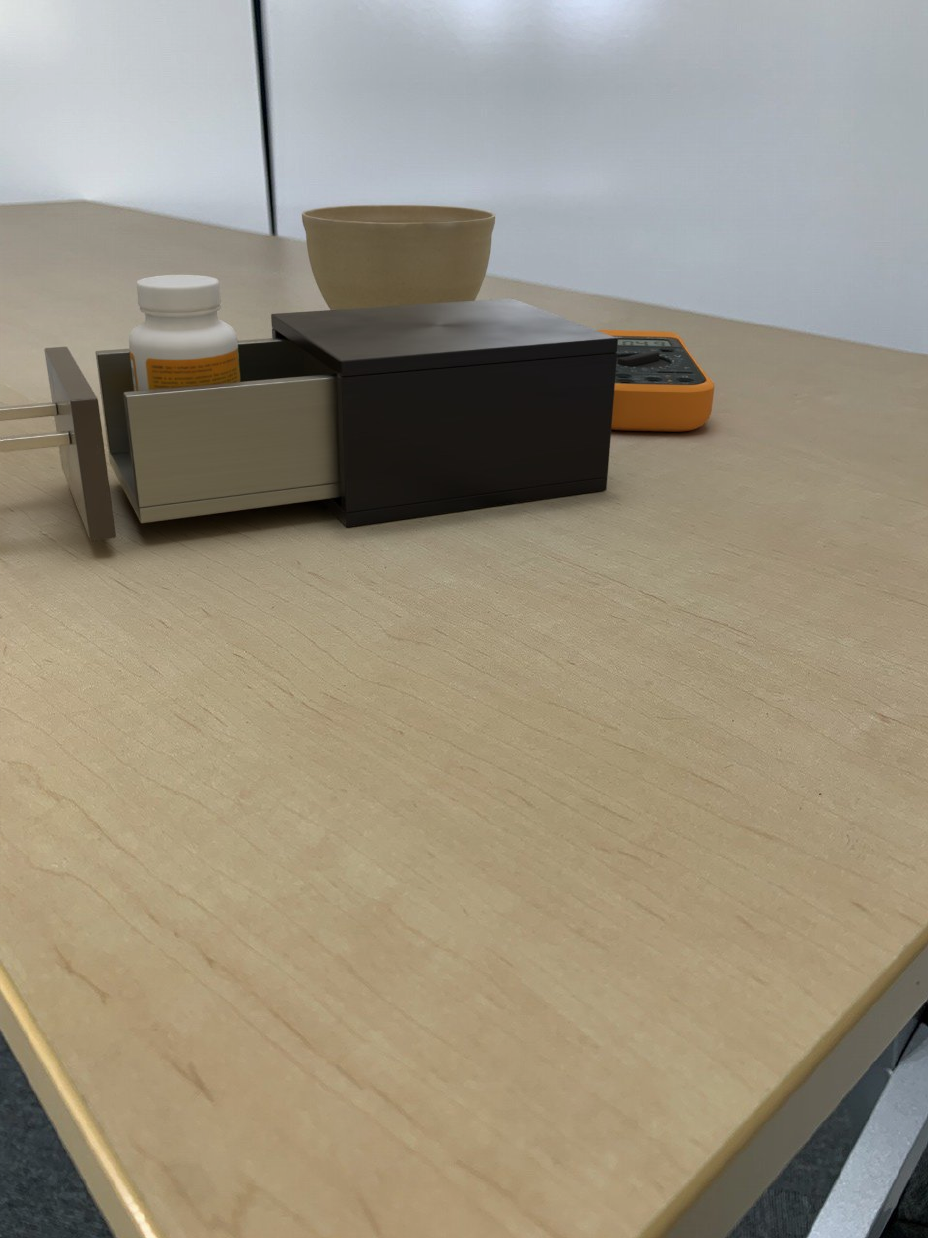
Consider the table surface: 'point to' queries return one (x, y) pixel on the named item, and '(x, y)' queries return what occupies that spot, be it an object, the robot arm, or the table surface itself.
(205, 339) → the supplement bottle
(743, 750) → the table surface
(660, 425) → the multimeter
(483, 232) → the planter bowl
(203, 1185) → the table surface
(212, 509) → the sliding drawer
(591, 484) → the dark drawer cabinet
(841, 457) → the table surface
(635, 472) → the table surface
